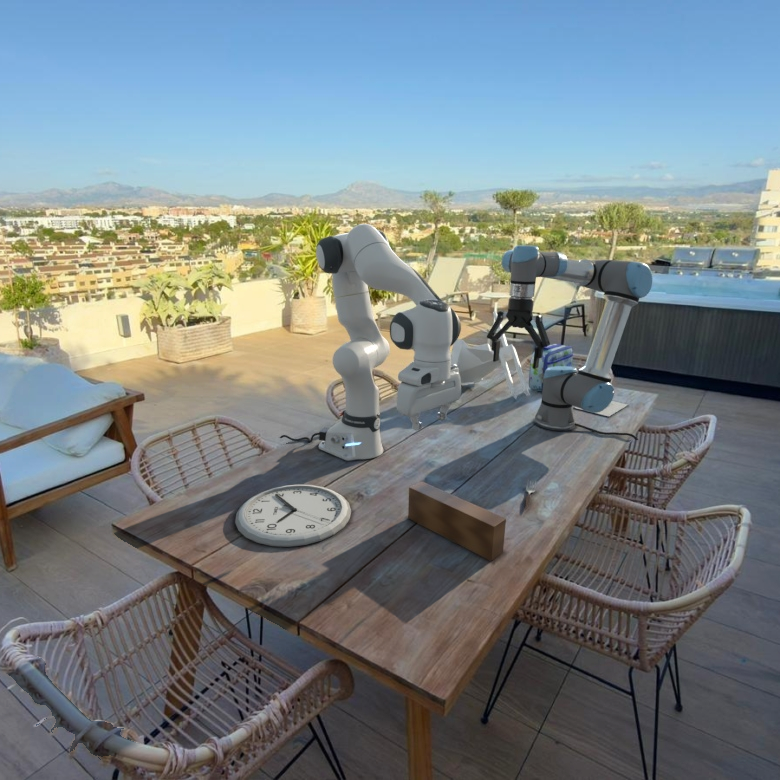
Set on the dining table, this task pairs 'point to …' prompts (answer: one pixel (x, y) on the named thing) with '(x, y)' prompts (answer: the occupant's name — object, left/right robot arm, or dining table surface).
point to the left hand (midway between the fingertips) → (429, 424)
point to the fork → (529, 490)
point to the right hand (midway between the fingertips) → (515, 364)
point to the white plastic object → (486, 361)
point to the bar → (457, 520)
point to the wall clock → (293, 515)
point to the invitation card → (610, 408)
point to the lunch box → (549, 363)
